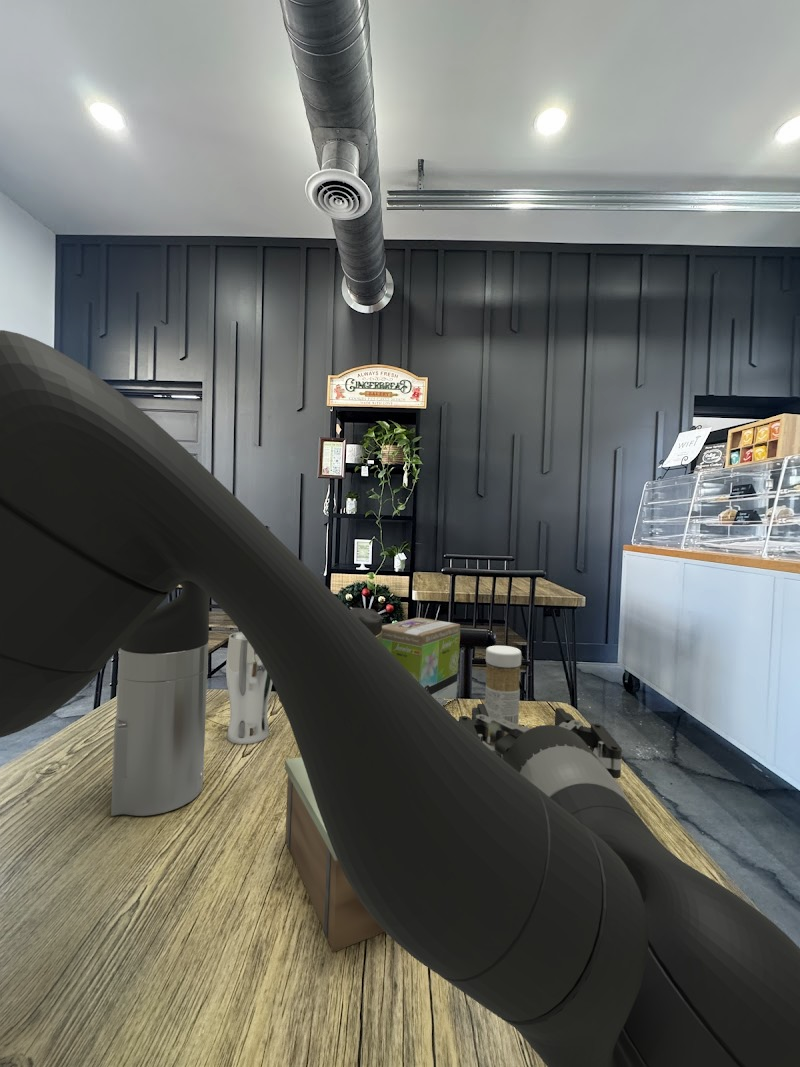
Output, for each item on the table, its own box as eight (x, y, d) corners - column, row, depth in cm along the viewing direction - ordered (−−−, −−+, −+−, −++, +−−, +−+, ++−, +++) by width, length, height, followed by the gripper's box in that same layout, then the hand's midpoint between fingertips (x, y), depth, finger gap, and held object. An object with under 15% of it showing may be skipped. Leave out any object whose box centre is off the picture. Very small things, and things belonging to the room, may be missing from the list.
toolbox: (331, 956, 34) (336, 834, 34) (281, 838, 47) (285, 750, 47) (431, 916, 38) (435, 807, 38) (360, 818, 51) (364, 736, 51)
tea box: (419, 724, 77) (423, 634, 77) (369, 710, 83) (372, 625, 83) (458, 699, 90) (461, 621, 90) (412, 688, 95) (415, 615, 95)
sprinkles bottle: (509, 742, 65) (513, 644, 65) (523, 758, 60) (527, 652, 60) (477, 743, 64) (481, 644, 64) (489, 759, 60) (493, 652, 60)
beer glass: (226, 749, 66) (231, 641, 66) (220, 730, 72) (224, 631, 72) (276, 741, 69) (281, 638, 69) (266, 723, 75) (270, 629, 75)
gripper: (468, 840, 36) (452, 744, 52) (658, 853, 36) (583, 752, 52) (473, 741, 36) (455, 676, 52) (663, 753, 36) (586, 684, 52)
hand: (519, 714), depth 52 cm, fingers open, 8 cm apart
